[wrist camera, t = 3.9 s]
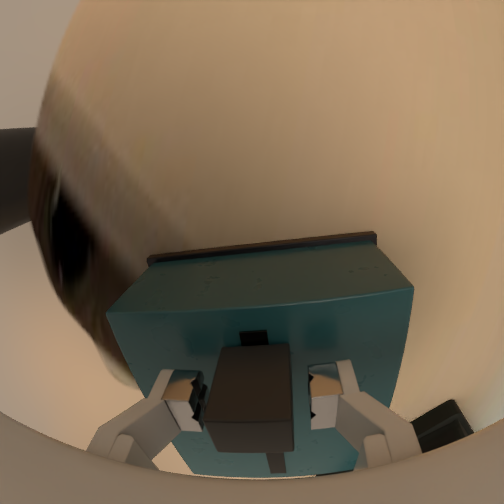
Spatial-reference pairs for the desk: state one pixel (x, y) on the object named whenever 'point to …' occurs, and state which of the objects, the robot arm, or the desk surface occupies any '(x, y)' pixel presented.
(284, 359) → the slider
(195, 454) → the block
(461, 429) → the roll top bread box
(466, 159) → the desk surface
